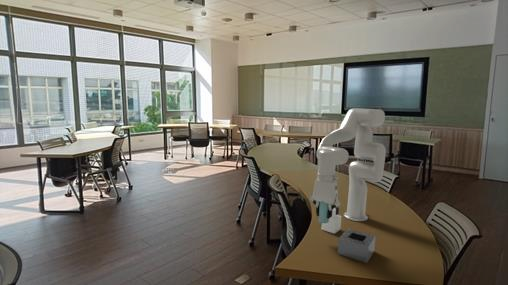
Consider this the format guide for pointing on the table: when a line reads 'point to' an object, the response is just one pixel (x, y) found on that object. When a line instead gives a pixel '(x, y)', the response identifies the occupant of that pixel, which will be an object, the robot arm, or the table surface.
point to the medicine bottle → (333, 222)
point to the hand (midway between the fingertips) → (323, 216)
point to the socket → (356, 245)
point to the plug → (323, 212)
